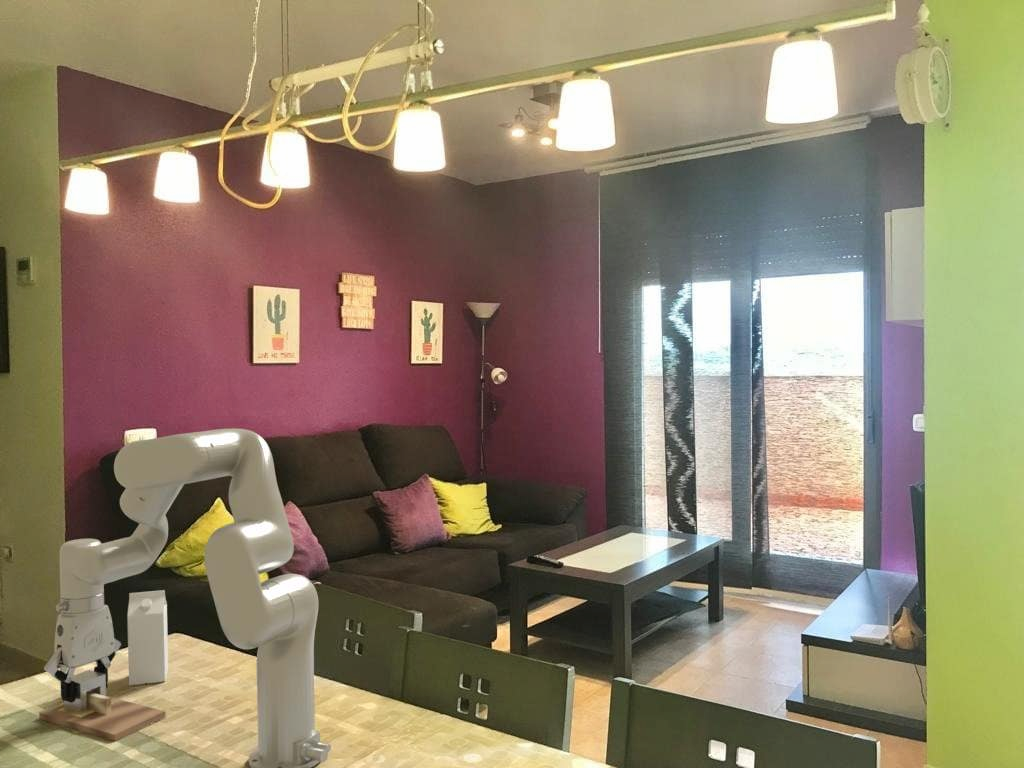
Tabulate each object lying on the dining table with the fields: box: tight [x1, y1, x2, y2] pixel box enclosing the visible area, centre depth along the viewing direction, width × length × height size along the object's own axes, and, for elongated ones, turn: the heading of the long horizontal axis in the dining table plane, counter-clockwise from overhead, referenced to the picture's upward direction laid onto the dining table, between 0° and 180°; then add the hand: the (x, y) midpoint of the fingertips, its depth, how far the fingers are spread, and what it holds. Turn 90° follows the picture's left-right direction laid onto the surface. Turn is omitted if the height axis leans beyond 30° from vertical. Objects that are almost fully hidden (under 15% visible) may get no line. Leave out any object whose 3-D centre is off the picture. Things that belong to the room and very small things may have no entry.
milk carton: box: [126, 589, 169, 686], centre depth 179 cm, size 7×7×19 cm
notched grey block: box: [63, 669, 107, 714], centre depth 161 cm, size 5×5×6 cm
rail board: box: [38, 691, 167, 742], centre depth 159 cm, size 22×11×4 cm, turn 63°
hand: (85, 693), depth 161 cm, fingers open, 6 cm apart
